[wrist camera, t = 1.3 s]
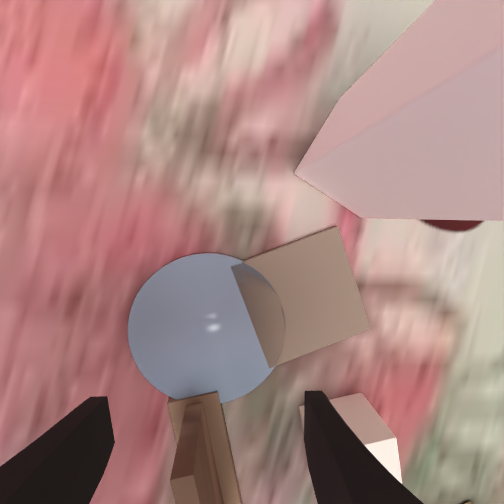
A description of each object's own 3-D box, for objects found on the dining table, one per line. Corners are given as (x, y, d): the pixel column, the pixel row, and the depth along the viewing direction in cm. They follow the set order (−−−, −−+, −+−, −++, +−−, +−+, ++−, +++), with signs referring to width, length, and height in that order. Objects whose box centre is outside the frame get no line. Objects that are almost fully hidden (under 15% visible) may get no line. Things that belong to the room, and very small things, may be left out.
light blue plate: (149, 414, 23) (147, 419, 22) (114, 268, 21) (110, 270, 21) (294, 382, 23) (296, 387, 23) (270, 239, 22) (272, 240, 21)
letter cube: (308, 463, 24) (330, 528, 19) (298, 405, 24) (318, 457, 19) (369, 449, 25) (406, 509, 20) (360, 391, 24) (397, 438, 19)
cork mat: (268, 364, 23) (269, 368, 22) (230, 265, 22) (230, 266, 21) (367, 325, 23) (370, 328, 23) (334, 225, 22) (338, 226, 22)
